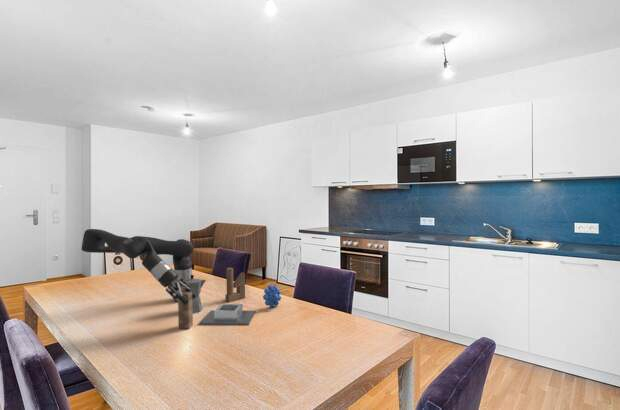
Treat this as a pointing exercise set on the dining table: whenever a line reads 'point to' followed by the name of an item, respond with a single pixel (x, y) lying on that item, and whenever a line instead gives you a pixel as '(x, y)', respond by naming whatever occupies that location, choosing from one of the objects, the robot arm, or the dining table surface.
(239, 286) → the brown wooden pegged bracket
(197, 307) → the coffeepot
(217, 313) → the keeper cradle
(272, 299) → the grapes
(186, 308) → the walnut post
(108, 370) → the dining table surface
